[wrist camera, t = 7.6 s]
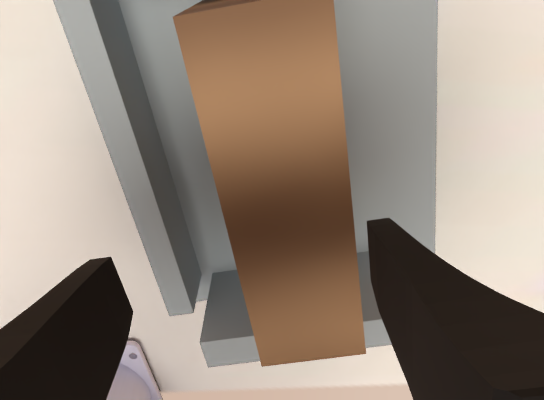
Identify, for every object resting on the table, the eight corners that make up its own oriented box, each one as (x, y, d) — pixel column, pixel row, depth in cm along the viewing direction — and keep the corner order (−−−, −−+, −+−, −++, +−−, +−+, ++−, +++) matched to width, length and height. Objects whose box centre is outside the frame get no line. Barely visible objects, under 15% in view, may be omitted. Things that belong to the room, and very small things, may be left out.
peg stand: (428, 258, 25) (472, 337, 20) (188, 291, 26) (167, 375, 21) (430, -131, 16) (507, -176, 11) (72, -59, 17) (-13, -69, 12)
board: (341, 255, 21) (365, 353, 16) (263, 266, 21) (261, 366, 16) (310, -21, 15) (332, -13, 10) (204, -1, 16) (172, 16, 10)
